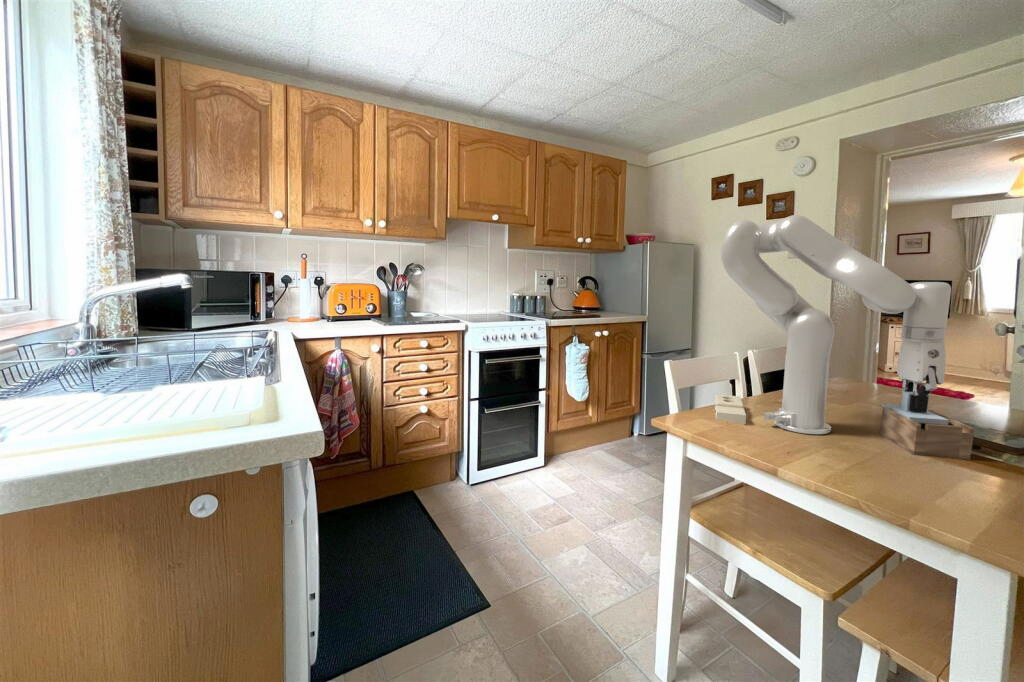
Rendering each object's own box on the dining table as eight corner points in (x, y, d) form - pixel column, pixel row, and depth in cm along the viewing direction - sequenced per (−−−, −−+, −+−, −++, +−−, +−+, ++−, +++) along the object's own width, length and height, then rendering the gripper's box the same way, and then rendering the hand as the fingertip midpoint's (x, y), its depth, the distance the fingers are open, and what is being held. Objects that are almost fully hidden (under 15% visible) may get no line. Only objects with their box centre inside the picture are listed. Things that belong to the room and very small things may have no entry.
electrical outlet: (717, 409, 119) (715, 394, 135) (716, 423, 119) (714, 406, 136) (746, 411, 116) (740, 396, 132) (745, 426, 116) (740, 408, 133)
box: (970, 459, 92) (974, 428, 91) (913, 454, 95) (917, 424, 94) (928, 437, 106) (931, 410, 105) (879, 433, 108) (882, 407, 108)
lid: (948, 425, 97) (951, 400, 96) (909, 422, 99) (912, 398, 98) (916, 410, 108) (919, 388, 107) (882, 408, 110) (884, 386, 110)
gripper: (967, 339, 92) (955, 421, 95) (921, 331, 108) (912, 402, 110) (924, 338, 95) (914, 418, 97) (885, 330, 110) (877, 400, 112)
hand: (913, 409), depth 103 cm, fingers closed on lid, 2 cm apart
